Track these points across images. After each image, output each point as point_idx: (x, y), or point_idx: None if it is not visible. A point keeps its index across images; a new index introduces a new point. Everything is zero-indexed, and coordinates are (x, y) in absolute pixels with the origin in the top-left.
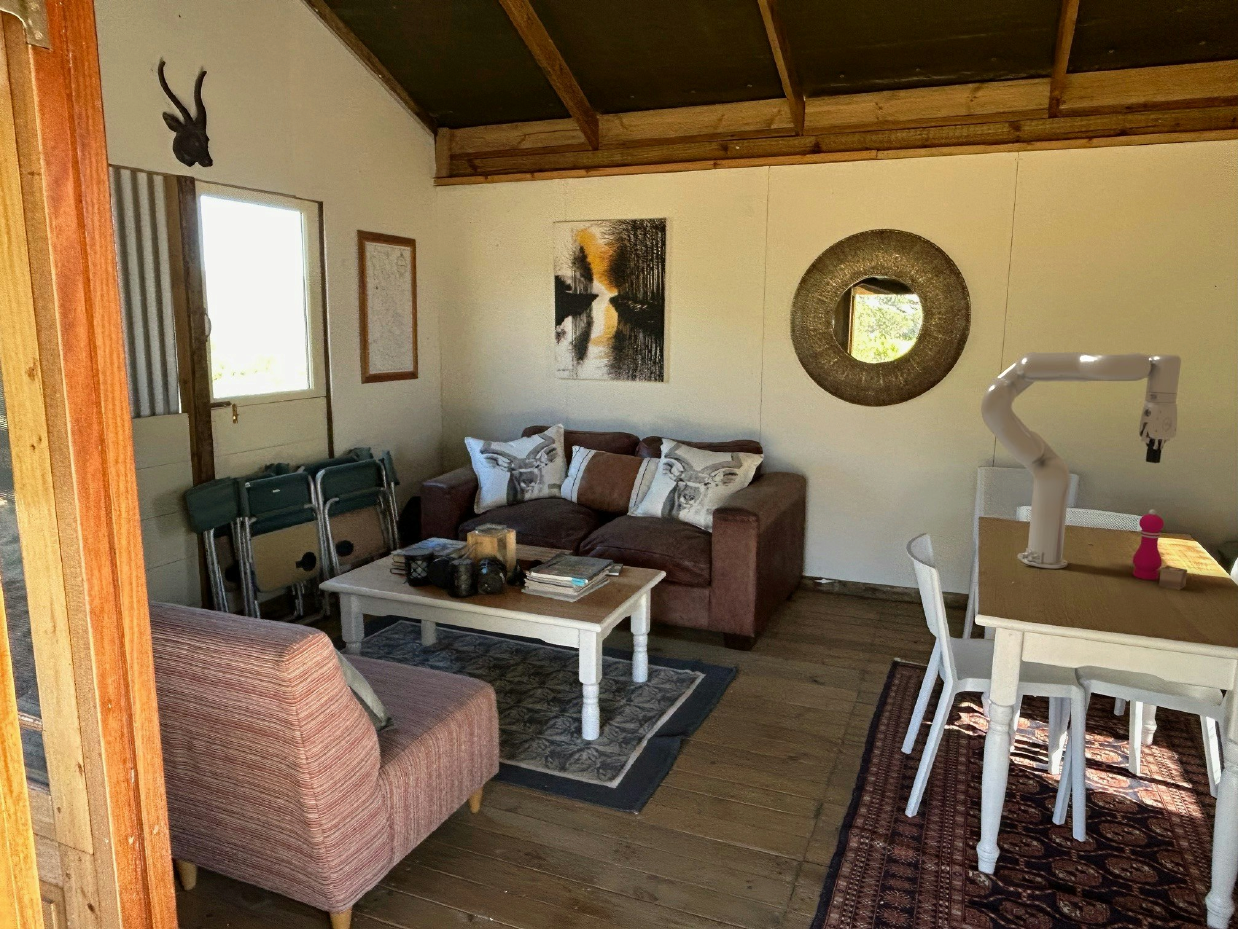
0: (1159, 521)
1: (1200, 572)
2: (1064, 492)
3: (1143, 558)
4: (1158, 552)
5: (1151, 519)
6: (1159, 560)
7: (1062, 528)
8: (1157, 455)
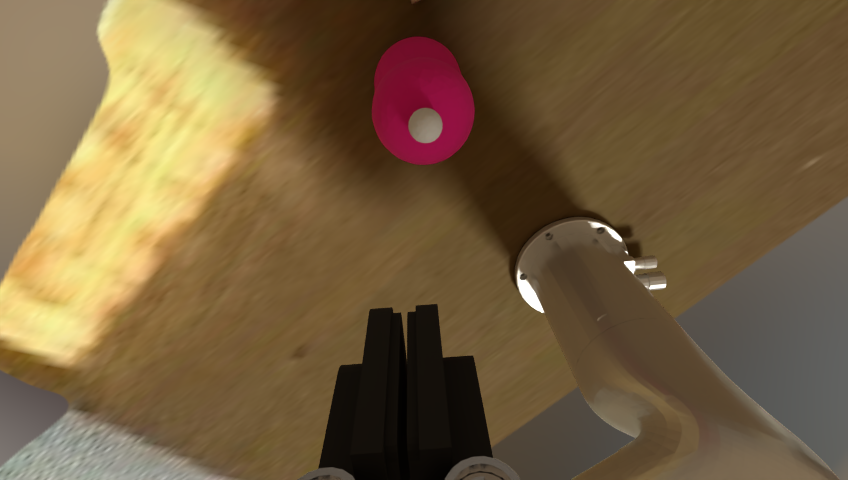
0: (431, 66)
1: (194, 52)
2: (711, 387)
3: (459, 71)
4: (406, 56)
5: (460, 92)
6: (411, 41)
7: (612, 292)
8: (436, 367)
